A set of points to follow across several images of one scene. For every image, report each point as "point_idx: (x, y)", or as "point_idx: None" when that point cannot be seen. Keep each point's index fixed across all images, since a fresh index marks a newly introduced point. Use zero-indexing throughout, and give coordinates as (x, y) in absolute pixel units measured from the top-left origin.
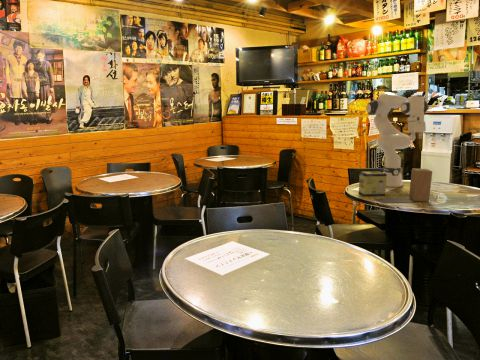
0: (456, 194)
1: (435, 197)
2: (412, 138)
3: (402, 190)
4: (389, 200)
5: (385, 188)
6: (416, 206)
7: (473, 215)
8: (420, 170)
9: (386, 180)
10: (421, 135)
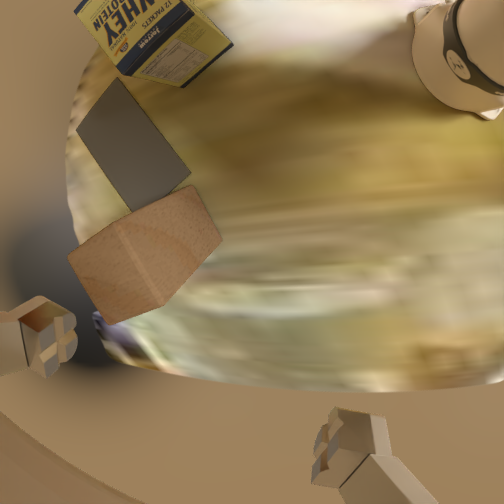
0: (377, 345)
1: (273, 279)
2: (36, 297)
3: (360, 124)
4: (111, 135)
5: (165, 83)
6: (97, 232)
7: (111, 357)
8: (80, 274)
9: (426, 30)
10: (348, 498)
